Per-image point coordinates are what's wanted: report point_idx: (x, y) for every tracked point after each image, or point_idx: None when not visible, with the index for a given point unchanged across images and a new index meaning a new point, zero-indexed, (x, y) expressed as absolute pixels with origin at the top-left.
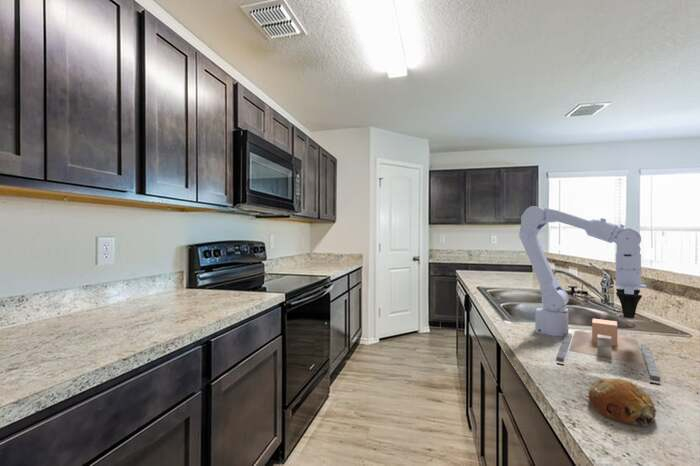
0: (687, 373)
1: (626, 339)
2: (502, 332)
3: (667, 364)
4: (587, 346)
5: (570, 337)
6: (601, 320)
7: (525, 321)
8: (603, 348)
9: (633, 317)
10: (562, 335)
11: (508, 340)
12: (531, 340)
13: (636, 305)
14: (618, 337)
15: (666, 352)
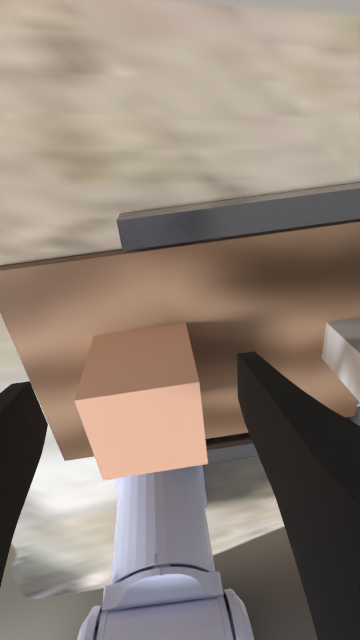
0: (356, 48)
1: (26, 310)
2: (226, 549)
3: (263, 132)
4: None
5: (223, 448)
6: (120, 449)
7: (38, 562)
8: None
9: (258, 356)
10: (190, 467)
11: None
12: (256, 494)
13: (351, 421)
14: (22, 339)
15: (37, 137)
